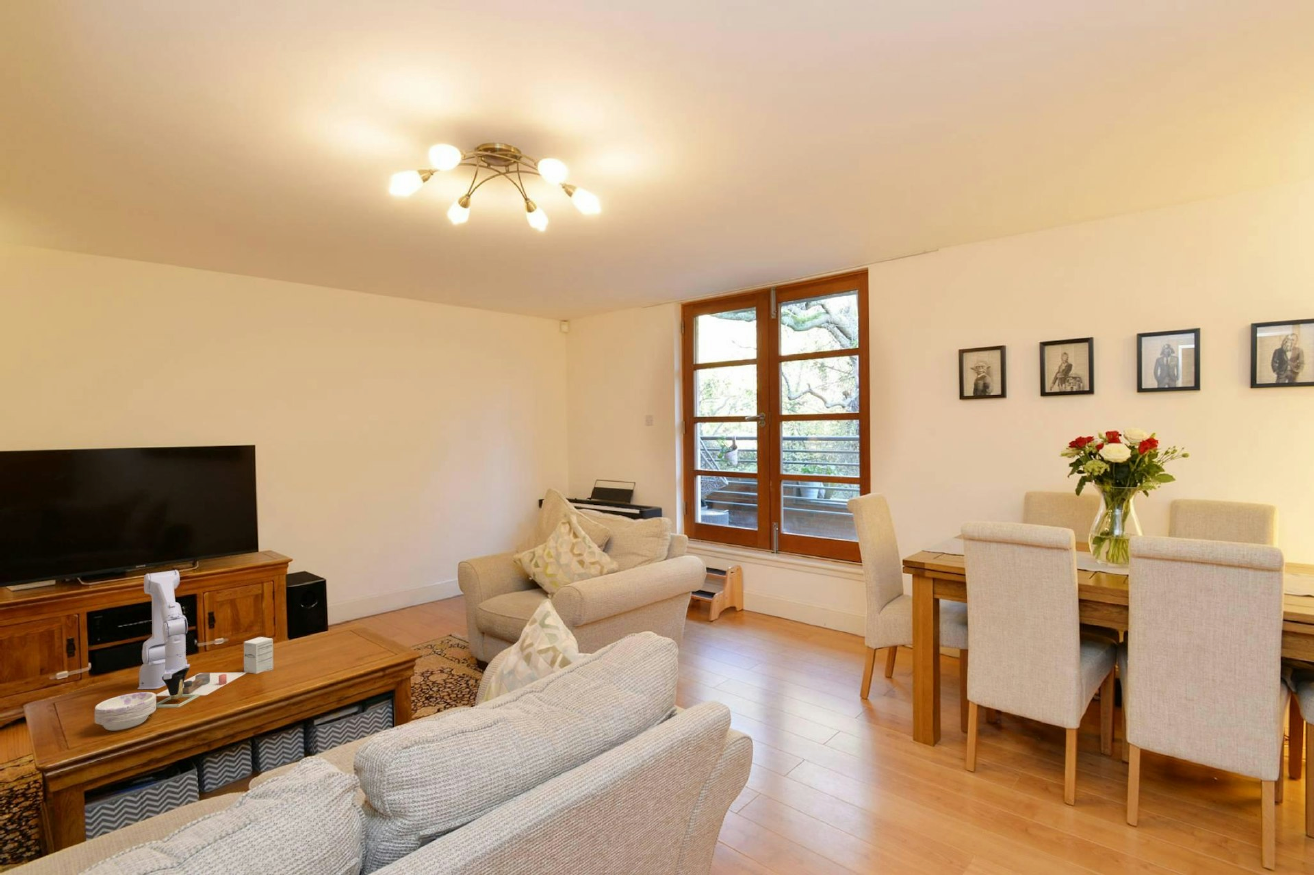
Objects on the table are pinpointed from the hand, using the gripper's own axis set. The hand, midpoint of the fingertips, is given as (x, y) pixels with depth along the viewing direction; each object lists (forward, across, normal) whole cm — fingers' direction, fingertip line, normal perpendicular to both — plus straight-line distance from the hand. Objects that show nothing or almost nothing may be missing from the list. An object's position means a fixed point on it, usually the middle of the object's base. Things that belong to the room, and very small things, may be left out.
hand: (175, 692), depth 217 cm
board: (+4, +16, -3) cm, 17 cm away
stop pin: (+2, 0, 0) cm, 2 cm away
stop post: (+4, +13, -10) cm, 17 cm away
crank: (+3, +12, -2) cm, 13 cm away
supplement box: (+4, +26, -19) cm, 32 cm away
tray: (+4, 0, 0) cm, 4 cm away
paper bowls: (+4, -13, +9) cm, 17 cm away
